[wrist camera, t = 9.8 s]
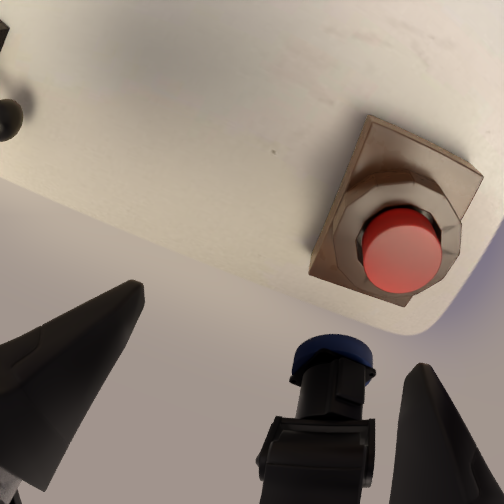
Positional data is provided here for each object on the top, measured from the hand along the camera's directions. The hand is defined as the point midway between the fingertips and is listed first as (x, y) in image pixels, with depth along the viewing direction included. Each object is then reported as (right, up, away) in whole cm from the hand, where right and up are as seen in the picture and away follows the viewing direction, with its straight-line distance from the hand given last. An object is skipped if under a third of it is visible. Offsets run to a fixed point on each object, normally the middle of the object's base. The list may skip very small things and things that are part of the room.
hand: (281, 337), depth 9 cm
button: (+7, +3, +6) cm, 10 cm away
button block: (+8, +5, +9) cm, 13 cm away
